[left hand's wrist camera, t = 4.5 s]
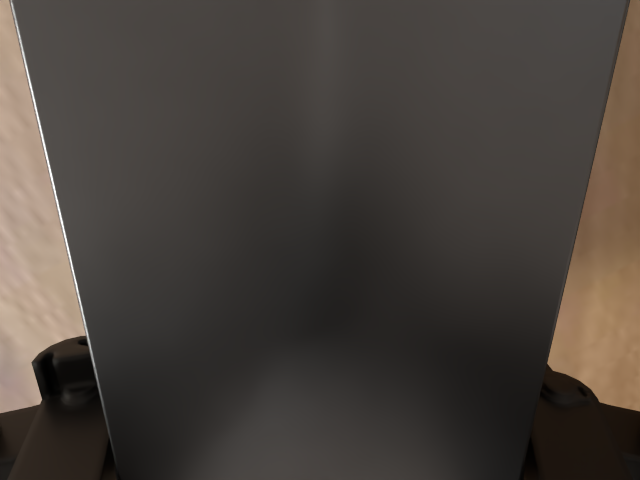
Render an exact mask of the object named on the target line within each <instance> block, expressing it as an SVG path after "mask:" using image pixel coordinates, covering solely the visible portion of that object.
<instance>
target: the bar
mask: <svg viewBox="0 0 640 480" xmlns="http://www.w3.org/2000/svg"><path fill="white" fill-rule="evenodd" d="M9 1H10V6H11V10H12V14H13V19H14V23H15V27H16V32H17V36H18V41H19V45H20V49H21V54H22V58H23V62H24V67H25V71H26V75H27V80H28V84H29V89H30V93H31V97H32V102H33V106H34V110H35V115H36V119H37V124H38V128H39V132H40V137H41V141H42V145H43V150H44V154H45V158H46V163H47V167H48V172H49V176H50V180H51V185H52V189H53V193H54V198H55V202H56V206H57V211H58V215H59V220H60V224H61V228H62V233H63V237H64V241H65V246H66V250H67V255H68V259H69V263H70V268H71V272H72V276H73V281H74V285H75V289H76V294H77V298H78V303H79V307H80V311H81V316H82V320H83V324H84V329H85V333H86V338H87V342H88V346H89V351H90V355H91V359H92V364H93V368H94V372H95V377H96V381H97V386H98V390H99V394H100V399H101V403H102V407H103V412H104V416H105V420H106V425H107V429H108V434H109V438H110V442H111V447H112V451H113V455H114V460H115V464H116V469H117V473H118V477H119V480H521V475H522V471H523V466H524V462H525V458H526V453H527V449H528V445H529V440H530V436H531V431H532V427H533V423H534V418H535V414H536V410H537V405H538V401H539V397H540V392H541V388H542V383H543V379H544V375H545V370H546V366H547V362H548V357H549V353H550V348H551V344H552V340H553V335H554V331H555V327H556V322H557V318H558V313H559V309H560V305H561V300H562V296H563V292H564V287H565V283H566V278H567V274H568V270H569V265H570V261H571V257H572V252H573V248H574V243H575V239H576V235H577V230H578V226H579V222H580V217H581V213H582V208H583V204H584V200H585V195H586V191H587V187H588V182H589V178H590V173H591V169H592V165H593V160H594V156H595V152H596V147H597V143H598V138H599V134H600V130H601V125H602V121H603V117H604V112H605V108H606V103H607V99H608V95H609V90H610V86H611V82H612V77H613V73H614V68H615V64H616V60H617V55H618V51H619V47H620V42H621V38H622V33H623V29H624V25H625V20H626V16H627V12H628V7H629V3H630V0H9Z"/></svg>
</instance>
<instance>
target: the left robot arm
mask: <svg viewBox="0 0 640 480" xmlns="http://www.w3.org/2000/svg"><path fill="white" fill-rule="evenodd" d="M32 366H33V369H34V373H35V376H36V380H37V383H38V386H39V390H40V393H41V397H42V401H41V404H40V405H36V406H32V407H28V408H23V409H19V410H14V411H9V412H5V413H0V480H119V477H118V473H117V469H116V464H115V460H114V455H113V451H112V447H111V442H110V438H109V434H108V429H107V425H106V420H105V416H104V412H103V407H102V403H101V399H100V394H99V390H98V386H97V381H96V377H95V372H94V368H93V364H92V359H91V355H90V351H89V346H88V342H87V338H86V336H79V337H75V338H71V339H67V340H64V341H61V342H59V343H57V344H54V345H52V346H50V347H48V348H47V349H45V350H44V351H42V352H41V353H39V354H38V355H37V357H36V358H35V359H34V360H33V361H32ZM521 480H640V412H639V411H635V410H630V409H625V408H621V407H616V406H611V405H607V404H603V403H600V402H599V401H598V399H597V397H596V396H595V394H594V393H593V392H592V390H591V389H590V388H588V387H587V386H586V385H584V384H583V383H582V382H580V381H579V380H577V379H574V378H572V377H570V376H568V375H566V374H563V373H559V372H555V371H553V370H552V369H551V368H550V367H549V365H548V364H547V366H546V370H545V375H544V379H543V383H542V388H541V392H540V397H539V401H538V405H537V410H536V414H535V418H534V423H533V427H532V431H531V436H530V440H529V445H528V449H527V453H526V458H525V462H524V466H523V471H522V475H521Z"/></svg>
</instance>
